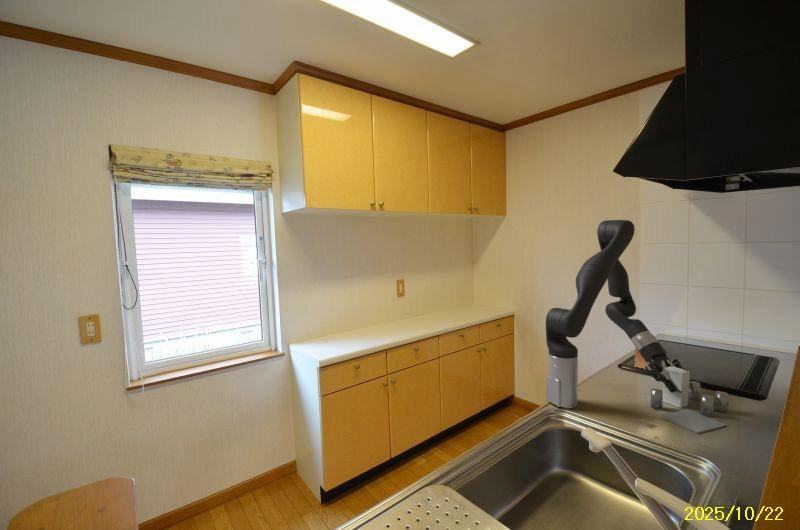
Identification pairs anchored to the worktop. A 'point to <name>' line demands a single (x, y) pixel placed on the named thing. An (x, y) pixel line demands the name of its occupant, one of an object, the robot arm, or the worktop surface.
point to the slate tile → (692, 421)
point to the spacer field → (694, 395)
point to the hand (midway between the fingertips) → (681, 390)
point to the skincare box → (681, 383)
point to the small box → (639, 360)
